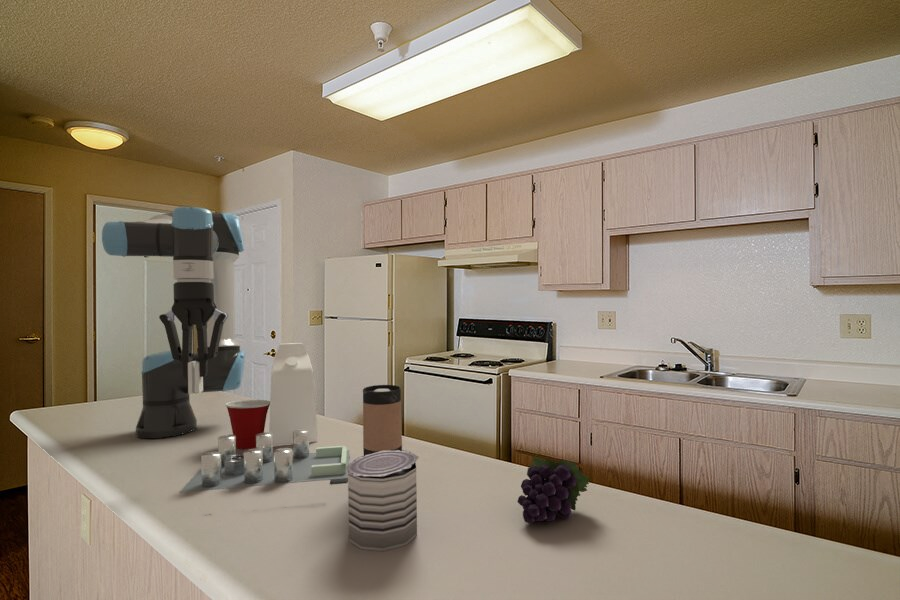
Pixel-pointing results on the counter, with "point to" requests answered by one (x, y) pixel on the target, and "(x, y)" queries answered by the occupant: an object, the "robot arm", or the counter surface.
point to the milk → (292, 394)
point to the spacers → (255, 458)
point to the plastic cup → (247, 421)
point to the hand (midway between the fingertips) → (195, 392)
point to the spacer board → (299, 474)
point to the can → (382, 500)
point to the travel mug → (382, 419)
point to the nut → (234, 465)
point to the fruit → (551, 489)
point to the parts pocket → (330, 468)
